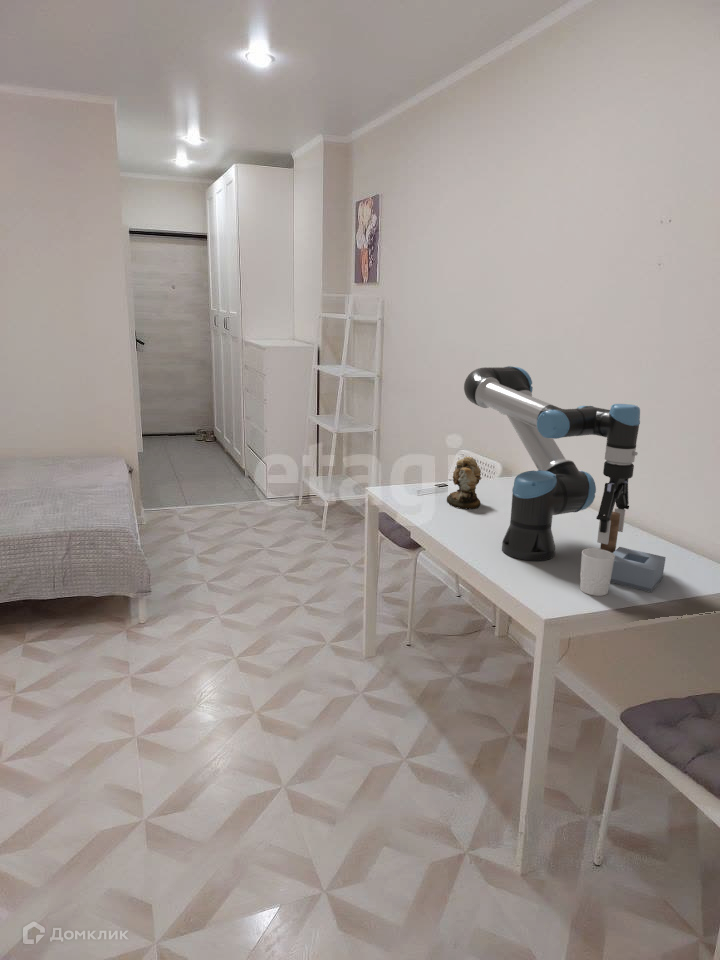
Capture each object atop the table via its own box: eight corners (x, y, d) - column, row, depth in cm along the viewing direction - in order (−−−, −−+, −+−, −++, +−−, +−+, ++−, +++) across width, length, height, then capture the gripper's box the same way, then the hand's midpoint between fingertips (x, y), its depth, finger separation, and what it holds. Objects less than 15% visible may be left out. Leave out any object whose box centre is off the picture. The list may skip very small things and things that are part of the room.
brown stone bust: (441, 495, 252) (444, 451, 248) (472, 495, 254) (475, 451, 249) (452, 509, 235) (455, 462, 231) (485, 509, 236) (489, 462, 232)
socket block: (603, 580, 177) (606, 558, 176) (616, 567, 187) (619, 546, 185) (651, 592, 170) (654, 570, 169) (662, 578, 180) (665, 557, 178)
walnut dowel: (596, 564, 188) (602, 513, 184) (600, 560, 191) (607, 510, 187) (610, 568, 186) (617, 516, 182) (615, 564, 189) (622, 513, 185)
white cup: (609, 599, 166) (614, 561, 163) (576, 593, 168) (580, 556, 166) (610, 587, 173) (615, 551, 170) (578, 582, 175) (582, 546, 173)
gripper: (620, 472, 169) (610, 551, 174) (645, 456, 188) (636, 528, 194) (590, 467, 173) (581, 545, 178) (618, 453, 193) (610, 523, 198)
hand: (610, 536), depth 186 cm, fingers open, 13 cm apart
